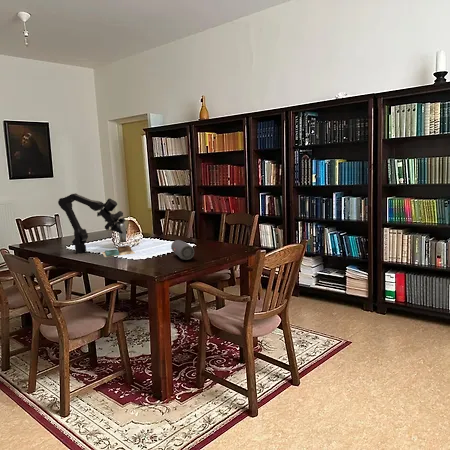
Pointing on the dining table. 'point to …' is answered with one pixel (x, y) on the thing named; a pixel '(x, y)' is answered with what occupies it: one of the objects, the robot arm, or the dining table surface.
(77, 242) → the robot arm
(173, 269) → the dining table surface
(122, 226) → the pin
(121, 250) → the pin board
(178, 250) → the bluetooth speaker
